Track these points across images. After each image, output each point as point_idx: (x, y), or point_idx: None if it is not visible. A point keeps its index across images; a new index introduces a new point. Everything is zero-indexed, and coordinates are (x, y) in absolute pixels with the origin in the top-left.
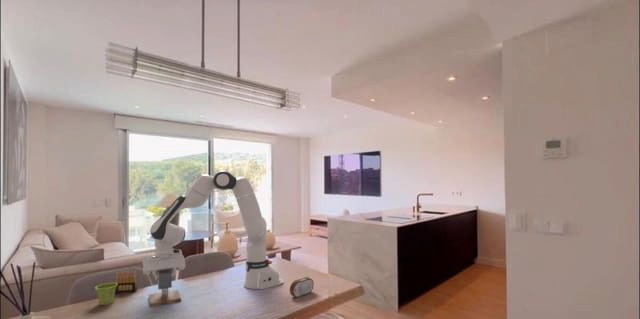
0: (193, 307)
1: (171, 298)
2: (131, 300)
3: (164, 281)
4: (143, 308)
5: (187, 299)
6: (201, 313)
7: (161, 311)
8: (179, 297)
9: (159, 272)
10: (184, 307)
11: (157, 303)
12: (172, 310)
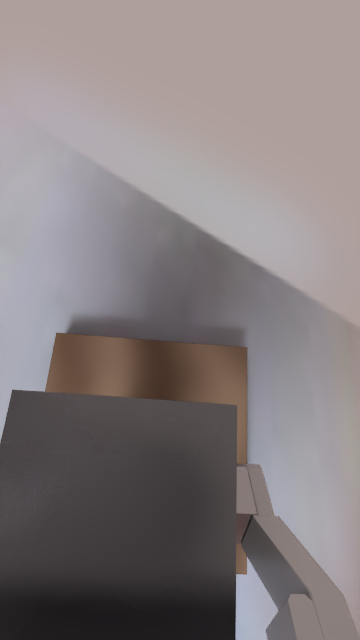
0: (35, 205)
1: (110, 366)
2: (357, 570)
3: (147, 398)
4: (274, 347)
5: (18, 346)
6: (31, 122)
7: (189, 247)
8: (60, 353)
9: (216, 557)
10: (74, 231)
11: (201, 345)
12: (138, 228)
